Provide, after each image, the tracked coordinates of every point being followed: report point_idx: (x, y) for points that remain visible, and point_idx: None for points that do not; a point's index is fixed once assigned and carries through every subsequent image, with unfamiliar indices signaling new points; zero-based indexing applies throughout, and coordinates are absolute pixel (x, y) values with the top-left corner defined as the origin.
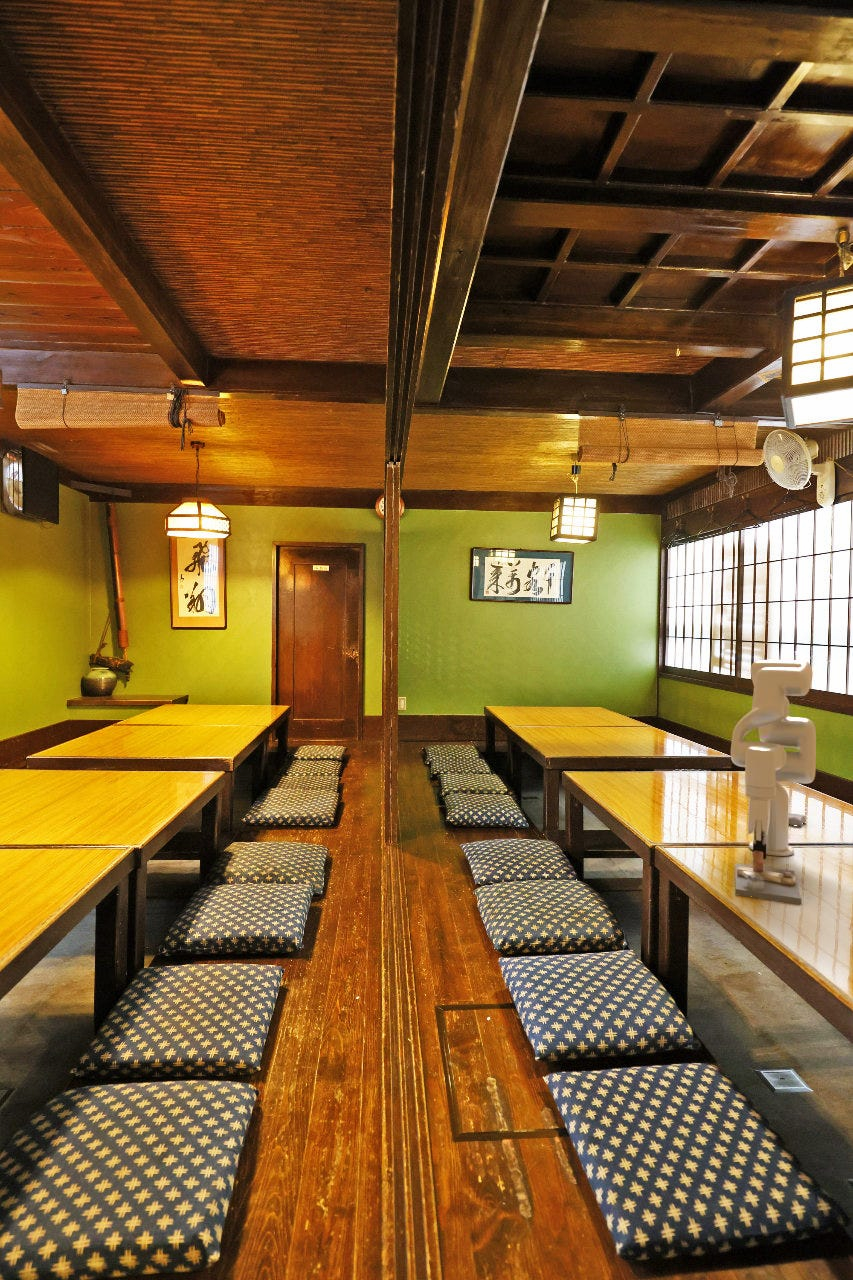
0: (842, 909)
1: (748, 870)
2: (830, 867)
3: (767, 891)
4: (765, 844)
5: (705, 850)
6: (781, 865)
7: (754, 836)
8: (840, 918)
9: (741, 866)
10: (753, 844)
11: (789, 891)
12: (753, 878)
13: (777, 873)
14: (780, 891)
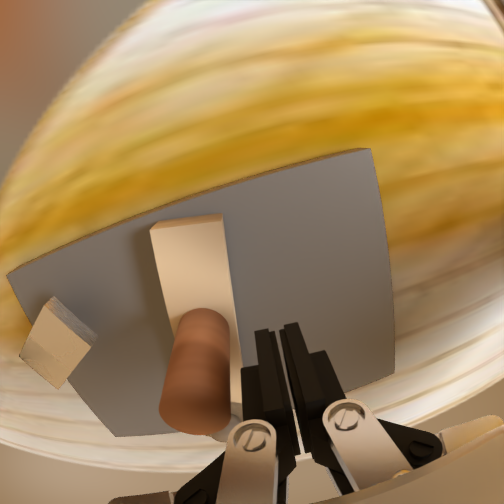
0: (176, 472)
1: (169, 291)
2: (485, 376)
3: (76, 368)
4: (312, 454)
5: (479, 20)
6: (476, 291)
7: (217, 501)
8: (119, 467)
9: (215, 236)
10: (263, 405)
11: (142, 416)
12: (21, 357)
13: (236, 395)
14: (116, 398)
